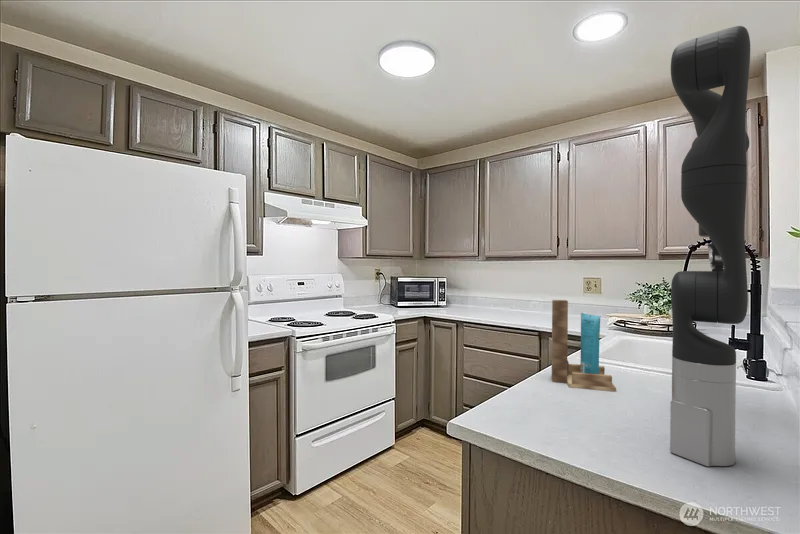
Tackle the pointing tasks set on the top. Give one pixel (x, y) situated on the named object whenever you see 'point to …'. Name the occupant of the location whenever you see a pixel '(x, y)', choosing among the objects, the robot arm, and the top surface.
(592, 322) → the tube
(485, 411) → the top surface
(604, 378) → the headboard bracket
